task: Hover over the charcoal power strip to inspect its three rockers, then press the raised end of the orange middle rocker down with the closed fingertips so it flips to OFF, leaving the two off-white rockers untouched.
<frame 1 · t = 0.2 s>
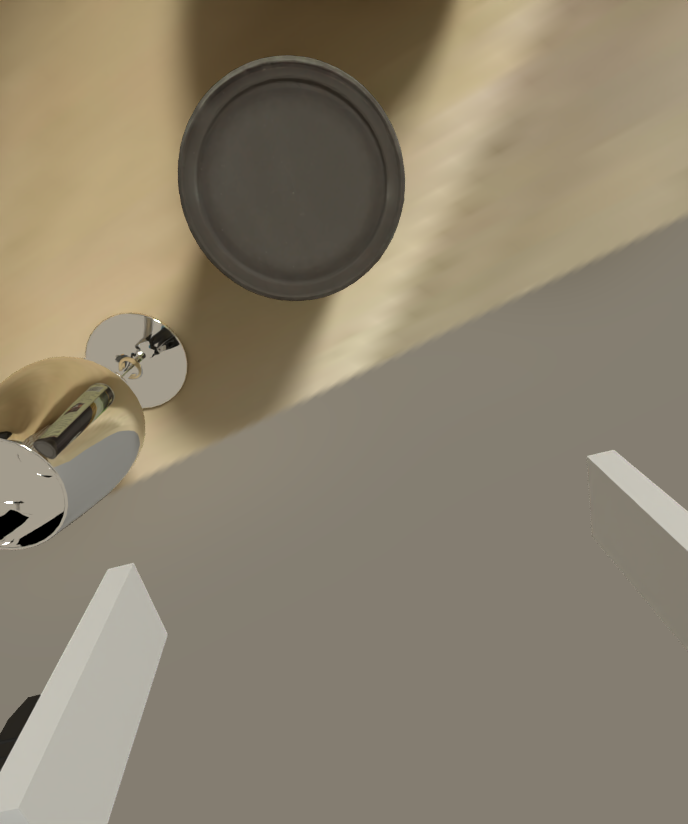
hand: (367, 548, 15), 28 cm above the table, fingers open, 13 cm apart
wineglass: (138, 360, 41), on the table
coffee can: (298, 190, 38), on the table
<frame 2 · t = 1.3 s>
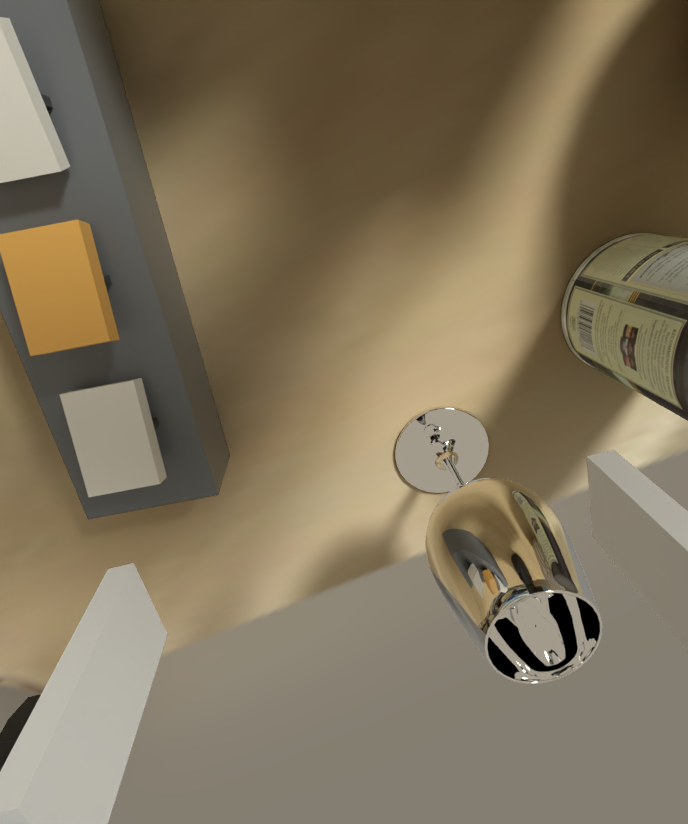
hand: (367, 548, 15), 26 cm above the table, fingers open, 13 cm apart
power strip: (108, 272, 37), on the table
off-white rocker C: (115, 437, 33), point 8 cm above the table, hinge at -12.0°
wineglass: (441, 448, 43), on the table
coffee can: (626, 303, 40), on the table
orange rocker B: (60, 289, 29), point 8 cm above the table, hinge at -12.0°
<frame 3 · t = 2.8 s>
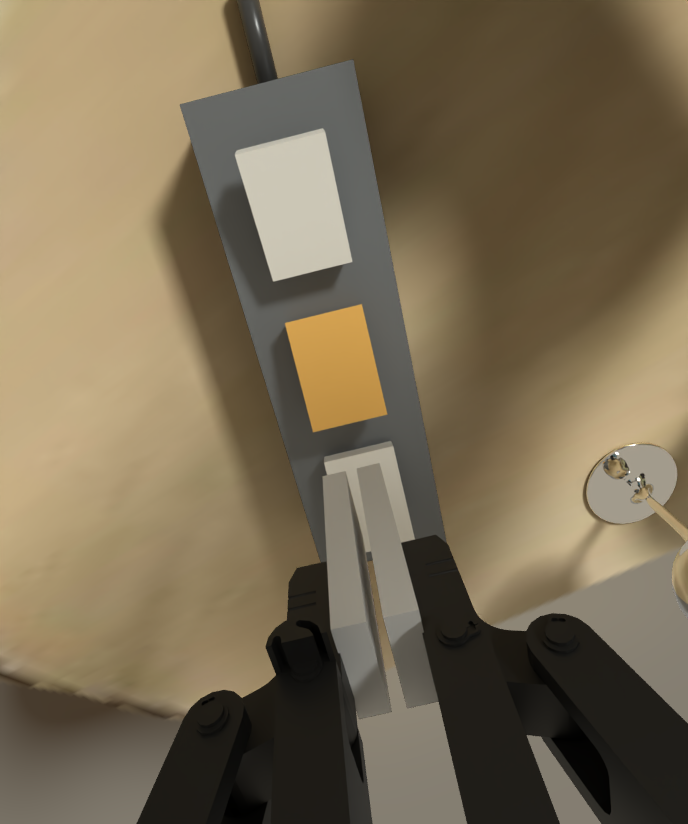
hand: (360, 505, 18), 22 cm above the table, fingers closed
power strip: (331, 336, 38), on the table
off-white rocker C: (369, 498, 35), point 8 cm above the table, hinge at -12.0°
wineglass: (628, 481, 45), on the table
orange rocker B: (336, 368, 31), point 8 cm above the table, hinge at -12.0°
off-white rocker A: (296, 208, 28), point 8 cm above the table, hinge at 12.0°
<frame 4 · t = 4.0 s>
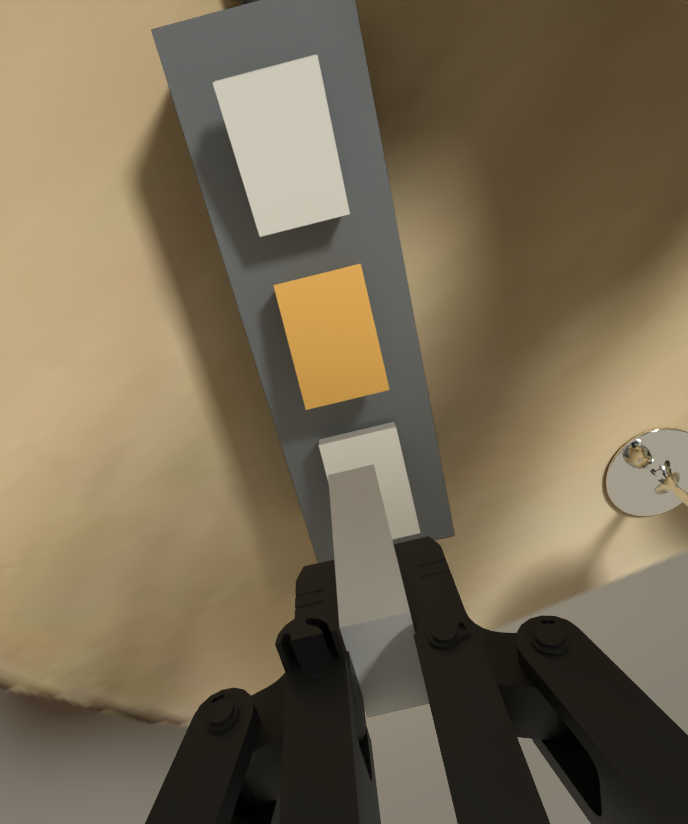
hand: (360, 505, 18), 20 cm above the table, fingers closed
power strip: (328, 308, 35), on the table
off-white rocker C: (369, 485, 31), point 8 cm above the table, hinge at -12.0°
wineglass: (652, 470, 41), on the table
orange rocker B: (332, 337, 28), point 8 cm above the table, hinge at -12.0°
off-white rocker A: (286, 150, 24), point 8 cm above the table, hinge at 12.0°
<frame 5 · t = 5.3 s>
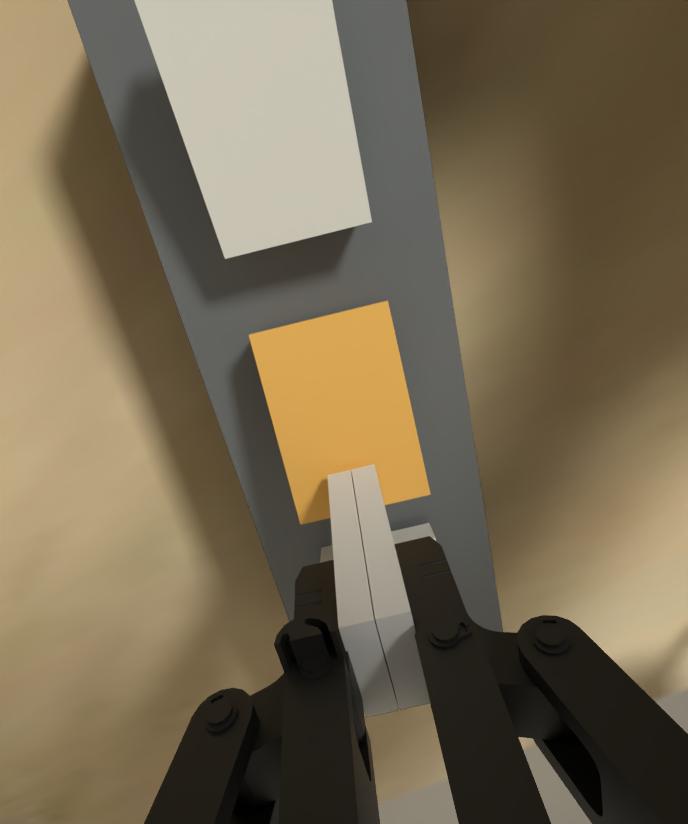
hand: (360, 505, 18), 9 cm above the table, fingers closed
power strip: (333, 350, 25), on the table
off-white rocker C: (394, 616, 21), point 8 cm above the table, hinge at -12.0°
orange rocker B: (342, 412, 18), point 8 cm above the table, hinge at -11.8°, touching gripper
off-white rocker A: (266, 115, 14), point 8 cm above the table, hinge at 12.0°
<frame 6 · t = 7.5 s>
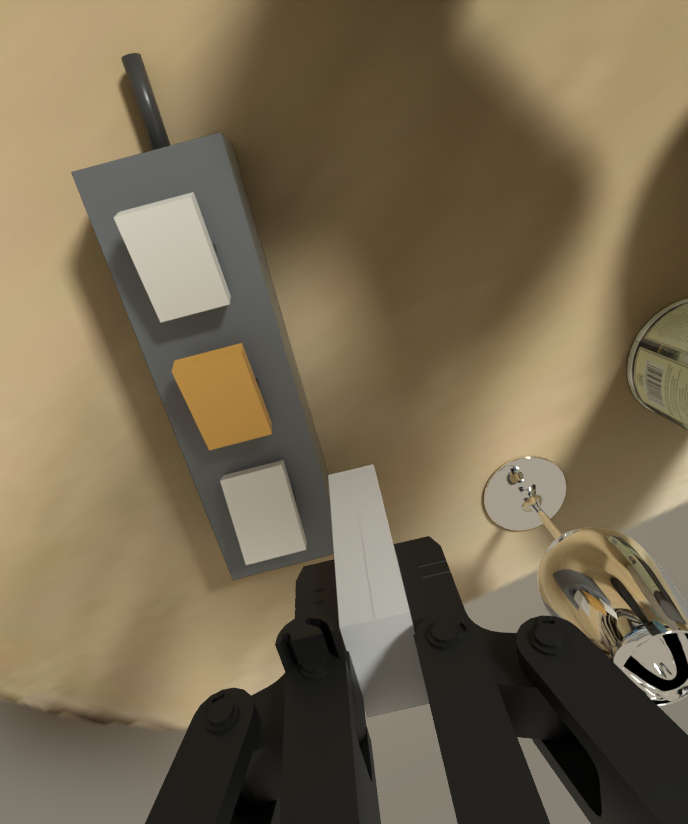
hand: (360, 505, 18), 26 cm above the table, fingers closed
power strip: (236, 365, 42), on the table
off-white rocker C: (264, 512, 38), point 8 cm above the table, hinge at -12.0°
wineglass: (523, 491, 49), on the table
coffee can: (683, 356, 45), on the table
orange rocker B: (224, 398, 35), point 8 cm above the table, hinge at 14.2°
off-white rocker A: (176, 259, 32), point 8 cm above the table, hinge at 12.0°
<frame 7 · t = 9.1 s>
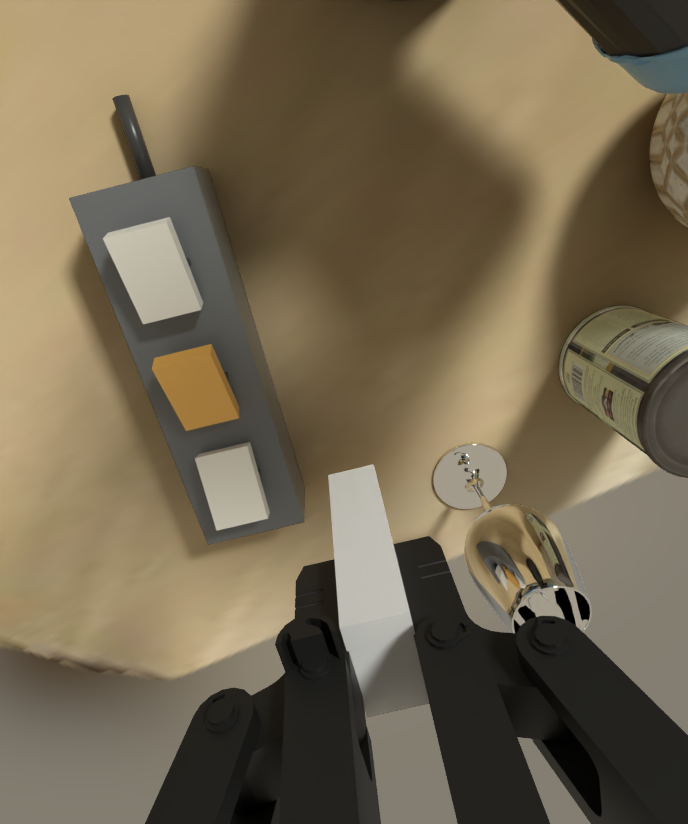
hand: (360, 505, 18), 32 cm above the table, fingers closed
power strip: (213, 359, 49), on the table
off-white rocker C: (233, 486, 45), point 8 cm above the table, hinge at -12.0°
wineglass: (469, 474, 55), on the table
coffee can: (610, 357, 51), on the table
orange rocker B: (198, 389, 42), point 8 cm above the table, hinge at 19.2°, touching power strip
off-white rocker A: (156, 272, 38), point 8 cm above the table, hinge at 12.0°
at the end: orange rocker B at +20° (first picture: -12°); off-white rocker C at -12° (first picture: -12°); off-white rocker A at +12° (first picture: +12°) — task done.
